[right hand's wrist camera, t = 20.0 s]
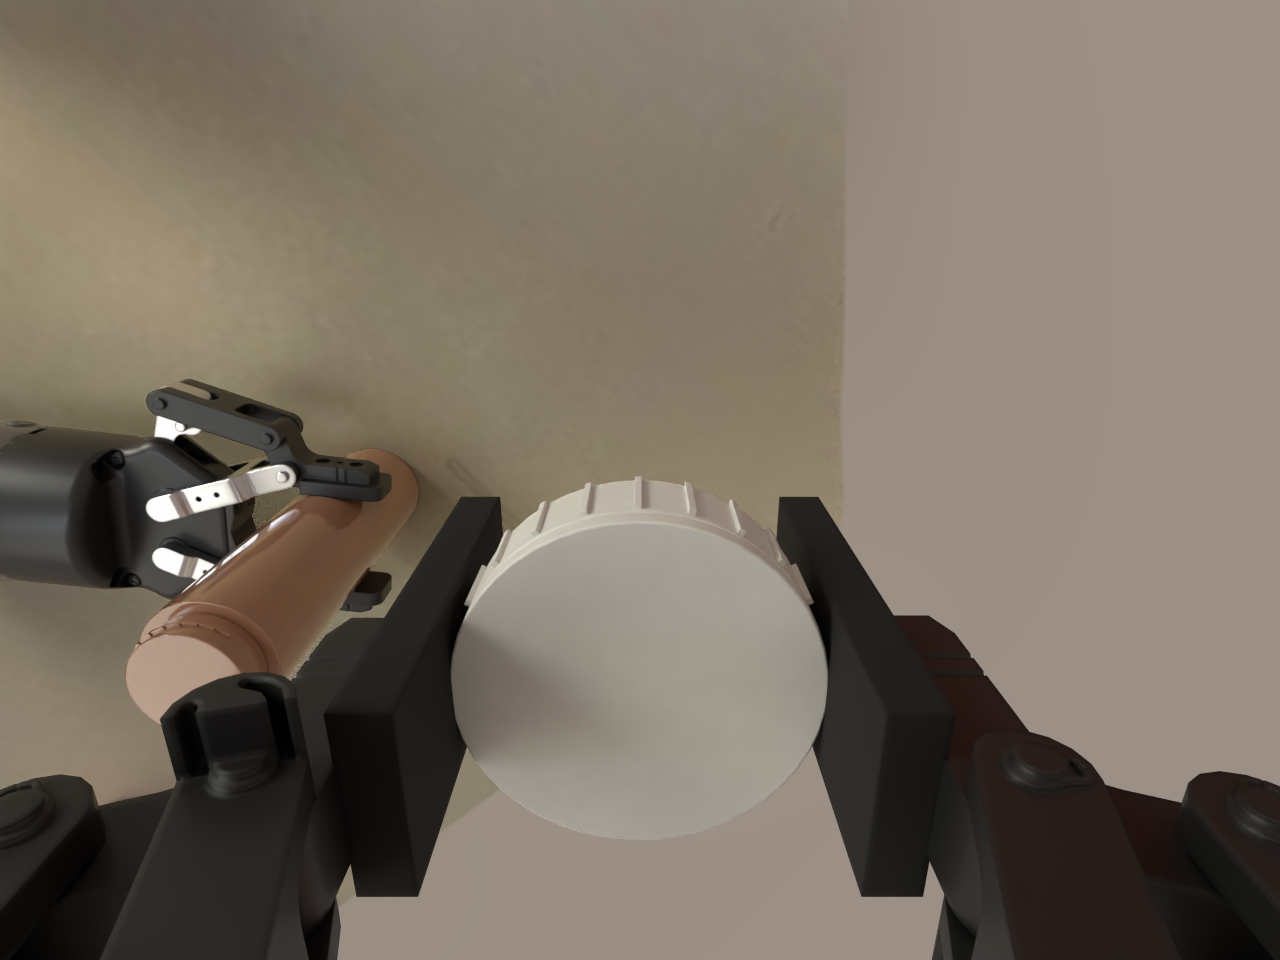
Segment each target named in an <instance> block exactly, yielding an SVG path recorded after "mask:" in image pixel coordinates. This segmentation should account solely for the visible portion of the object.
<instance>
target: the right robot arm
mask: <svg viewBox="0 0 1280 960" xmlns="http://www.w3.org/2000/svg"><path fill="white" fill-rule="evenodd" d="M502 537H503V531H502V517H501V503H500V497H461V498H460V500H459V501H458V503H457V505H456V506H455V508H454V509H453V511H452V512H451V514H450V516H449V517H448V519H447V520H446V522H445V523H444V525H443V527H442V528H441V530H440V531H439V533H438V534H437V536H436V538H435V539H434V541H433V542H432V544H431V545H430V547H429V549H428V550H427V552H426V553H425V555H424V556H423V558H422V560H421V561H420V563H419V564H418V566H417V567H416V569H415V571H414V572H413V574H412V575H411V577H410V578H409V580H408V582H407V583H406V585H405V586H404V588H403V589H402V591H401V593H400V594H399V596H398V597H397V599H396V600H395V602H394V604H393V605H392V607H391V608H390V610H389V611H388V613H387V615H386V616H385V618H351V619H349V620H348V621H346V622H345V623H343V624H342V625H340V626H339V627H337V628H336V629H334V630H333V631H331V632H330V633H328V634H327V635H325V637H324V638H323V639H322V641H321V642H320V643H319V645H318V646H317V647H316V649H315V650H314V651H313V653H312V654H311V655H310V659H309V661H306V662H305V663H304V665H303V666H302V667H301V669H300V670H299V671H298V673H297V676H296V678H293V679H292V680H291V681H290V680H288V679H287V678H286V677H285V676H282V675H278V674H273V673H269V672H251V673H240V674H236V675H232V676H228V677H224V678H220V679H216V680H214V681H212V682H209V683H207V684H205V685H203V686H200V687H198V688H196V689H193V690H192V691H190V692H189V693H187V694H186V695H184V696H183V697H181V698H180V699H178V700H177V701H176V702H174V703H173V704H172V705H171V706H170V707H169V708H168V710H167V711H166V712H165V713H164V714H163V716H162V717H161V718H160V722H161V726H162V729H163V733H164V736H165V740H166V744H167V747H168V751H169V755H170V758H171V762H172V765H173V769H174V773H175V776H176V780H177V783H176V785H175V787H174V788H173V789H169V790H166V791H162V792H159V793H155V794H150V795H146V796H141V797H137V798H132V799H128V800H123V801H119V802H114V803H110V804H105V805H101V806H98V803H97V800H96V796H95V793H94V790H93V787H92V786H91V785H90V784H89V783H88V782H86V781H85V780H84V779H83V778H81V777H76V776H68V775H54V776H47V777H40V778H34V779H31V780H28V781H24V782H20V783H19V784H14V785H12V786H9V787H7V788H4V789H2V790H0V960H337V955H338V947H339V938H340V929H341V925H340V917H339V910H338V905H337V900H336V895H337V892H338V890H339V888H340V886H341V884H342V881H343V879H344V877H345V875H346V872H347V870H348V868H349V866H350V863H351V869H352V874H353V880H354V885H355V891H356V896H357V897H418V895H419V892H420V889H421V886H422V883H423V880H424V877H425V874H426V871H427V868H428V865H429V861H430V858H431V855H432V852H433V849H434V846H435V843H436V840H437V837H438V834H439V831H440V828H441V825H442V822H443V819H444V815H445V812H446V809H447V806H448V803H449V800H450V797H451V794H452V791H453V788H454V785H455V782H456V779H457V776H458V772H459V769H460V766H461V763H462V760H463V757H464V754H465V751H466V748H467V745H466V744H465V742H464V740H463V738H462V735H461V733H460V730H459V727H458V725H457V722H456V719H455V710H454V702H453V693H452V683H451V658H452V653H453V649H454V645H455V641H456V637H457V634H458V632H459V630H460V627H461V625H462V623H463V620H464V618H465V616H466V614H467V611H468V609H469V607H468V606H466V605H464V603H465V601H466V599H467V597H468V595H469V592H470V590H471V588H472V586H473V584H474V581H475V579H476V577H477V575H478V573H479V570H480V568H481V566H482V565H484V566H486V567H487V566H488V564H489V562H490V561H491V559H492V557H493V556H494V554H495V553H496V551H497V549H498V547H499V544H500V542H501V540H502ZM777 542H778V544H779V547H780V549H781V550H782V551H783V553H784V554H785V556H786V557H787V559H788V561H789V563H790V565H793V564H795V563H796V565H797V567H798V569H799V571H800V573H801V575H802V577H803V580H804V582H805V584H806V586H807V589H808V591H809V593H810V595H811V597H812V600H813V602H814V603H813V604H811V605H809V607H810V609H811V611H812V613H813V616H814V618H815V620H816V623H817V625H818V627H819V630H820V633H821V636H822V639H823V643H824V646H825V649H826V655H827V662H828V668H829V674H828V688H827V697H826V706H825V714H824V717H823V720H822V724H821V727H820V730H819V733H818V735H817V737H816V739H815V741H814V743H813V745H812V746H813V749H814V752H815V755H816V758H817V761H818V765H819V768H820V770H821V774H822V777H823V780H824V783H825V786H826V789H827V792H828V795H829V798H830V801H831V805H832V808H833V811H834V814H835V817H836V820H837V823H838V826H839V829H840V832H841V835H842V838H843V841H844V844H845V847H846V851H847V854H848V857H849V860H850V863H851V866H852V869H853V872H854V875H855V878H856V881H857V884H858V887H859V890H860V893H861V896H862V897H923V893H924V888H925V882H926V877H927V871H928V866H929V861H930V863H931V865H932V867H933V870H934V872H935V874H936V876H937V878H938V881H939V883H940V885H941V888H942V890H943V892H944V900H943V905H942V910H941V915H940V920H939V925H938V930H937V936H936V941H935V946H934V951H933V957H932V960H1280V786H1278V785H1275V784H1272V783H1270V782H1267V781H1263V780H1261V779H1258V778H1254V777H1250V776H1248V775H1242V774H1235V773H1228V772H1221V771H1218V772H1211V773H1203V774H1199V775H1198V776H1196V777H1195V778H1194V779H1193V780H1191V781H1190V782H1189V783H1188V785H1187V789H1186V792H1185V795H1184V798H1183V801H1182V803H1180V802H1175V801H1171V800H1166V799H1162V798H1157V797H1153V796H1148V795H1144V794H1139V793H1135V792H1130V791H1126V790H1122V789H1118V788H1115V787H1111V786H1108V785H1105V784H1104V781H1103V780H1102V778H1101V777H1100V775H1099V774H1098V773H1097V771H1096V770H1095V768H1094V767H1093V766H1092V764H1091V763H1089V762H1088V761H1087V760H1086V759H1084V758H1083V757H1082V756H1081V755H1079V754H1078V753H1077V752H1076V751H1074V750H1073V749H1072V748H1069V747H1067V746H1065V745H1063V744H1061V743H1059V742H1057V741H1055V740H1053V739H1051V738H1049V737H1046V736H1042V735H1039V734H1035V733H1031V732H1029V731H1028V729H1027V728H1026V727H1025V726H1024V724H1023V723H1022V722H1021V720H1020V719H1019V718H1018V716H1017V715H1016V714H1015V712H1014V711H1013V710H1012V708H1011V707H1010V706H1009V704H1008V703H1007V702H1006V700H1005V699H1004V698H1003V696H1002V695H1001V694H1000V693H999V691H998V690H997V688H996V687H995V686H994V685H993V683H992V682H991V681H990V679H989V678H988V677H987V676H984V674H983V670H982V669H981V667H980V666H979V665H978V663H977V662H976V661H975V659H974V658H971V657H970V653H969V651H968V650H967V649H966V648H965V646H964V645H963V644H962V642H961V641H960V640H959V638H958V637H957V636H956V634H955V633H954V632H952V631H951V630H949V629H948V628H946V627H945V626H943V625H942V624H940V623H939V622H937V621H936V620H934V619H933V618H931V617H930V616H894V615H893V614H892V612H891V611H890V609H889V607H888V606H887V604H886V603H885V601H884V600H883V598H882V596H881V595H880V593H879V592H878V590H877V589H876V587H875V585H874V584H873V582H872V581H871V579H870V578H869V576H868V574H867V573H866V571H865V570H864V568H863V567H862V565H861V563H860V562H859V560H858V559H857V557H856V556H855V554H854V553H853V551H852V549H851V548H850V546H849V545H848V543H847V541H846V540H845V538H844V537H843V535H842V534H841V532H840V530H839V529H838V527H837V526H836V524H835V523H834V521H833V519H832V518H831V516H830V515H829V513H828V512H827V510H826V508H825V507H824V505H823V504H822V502H821V501H820V499H819V497H779V511H778V525H777Z"/></svg>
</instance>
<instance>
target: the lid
mask: <svg viewBox="0 0 1280 960" xmlns="http://www.w3.org/2000/svg"><path fill="white" fill-rule="evenodd" d="M813 603H814V602H813V600H812V597H811V595H810V593H809V591H808V589H807V586H806V584H805V582H804V580H803V577H802V575H801V573H800V571H799V569H798V567H797V565H796V563H795V564H793V565H790V563H789V561H788V559H787V557H786V556H785V554H784V553H783V551H782V550H781V549H780V547H779V544H778V542H777V539H776V537H775V535H774V532H773V531H772V530H771V529H770V528H768V529H767V530H766V531H765V530H764V529H763V528H762V526H760V525H759V524H758V523H757V522H756V521H754V520H753V519H752V518H751V517H749V516H748V515H747V514H746V513H744V512H743V511H741V510H740V509H739V508H738V505H737V502H735V501H733V500H730V502H729V503H728V502H726V501H725V500H722V499H720V498H718V497H715V496H713V495H711V494H709V493H706V492H704V491H701V490H697V489H694V488H692V483H689V482H685V484H684V485H679V484H673V483H667V482H661V481H643V480H642V476H635V480H631V481H619V482H610V483H605V484H600V485H596V486H593V485H592V483H591V482H590V483H586V484H585V487H584V489H581V490H579V491H576V492H573V493H570V494H567V495H565V496H563V497H561V498H559V499H557V500H555V501H553V502H551V503H549V504H548V503H547V501H544V502H542V503H540V506H539V509H538V511H536V512H535V513H533V514H532V515H531V516H529V517H528V518H527V519H526V520H524V521H523V522H522V523H521V524H520V525H519V526H518V527H517V528H515V529H514V530H513V531H512V532H511V531H510V530H509V529H508V530H507V531H506V532H505V533H504V535H503V537H502V540H501V542H500V544H499V547H498V549H497V551H496V553H495V554H494V556H493V557H492V559H491V561H490V562H489V564H488V566H487V567H486V566H484V565H482V566H481V568H480V570H479V573H478V575H477V577H476V579H475V581H474V584H473V586H472V588H471V590H470V592H469V595H468V597H467V599H466V601H465V603H464V605H466V606H468V607H469V609H468V611H467V614H466V616H465V618H464V620H463V623H462V625H461V627H460V630H459V632H458V634H457V637H456V641H455V645H454V649H453V653H452V658H451V683H452V693H453V702H454V710H455V719H456V722H457V725H458V727H459V730H460V733H461V735H462V738H463V740H464V742H465V744H466V745H467V747H468V749H469V751H470V753H471V754H472V756H473V758H474V759H475V760H476V762H477V763H478V764H479V766H480V767H481V769H482V770H483V771H484V773H485V774H486V775H487V776H488V777H489V778H490V779H491V780H492V781H493V782H494V783H495V784H496V785H497V786H498V787H499V788H500V789H501V790H502V791H503V792H504V793H506V794H507V795H508V796H509V797H511V798H512V799H513V800H514V801H516V802H517V803H519V804H520V805H522V806H523V807H525V808H526V809H528V810H530V811H531V812H533V813H534V814H536V815H538V816H540V817H542V818H544V819H547V820H549V821H551V822H553V823H555V824H557V825H560V826H563V827H566V828H569V829H572V830H574V831H578V832H582V833H586V834H590V835H594V836H598V837H606V838H613V839H620V840H654V839H667V838H673V837H679V836H685V835H690V834H693V833H697V832H700V831H704V830H708V829H711V828H713V827H716V826H718V825H721V824H723V823H726V822H728V821H731V820H733V819H735V818H737V817H738V816H740V815H742V814H744V813H746V812H748V811H750V810H751V809H753V808H754V807H756V806H757V805H759V804H760V803H761V802H763V801H764V800H766V799H767V798H769V797H770V796H771V795H772V794H773V793H774V792H775V791H776V790H778V789H779V788H780V787H781V786H782V785H783V784H784V783H785V782H786V781H787V780H788V779H789V778H790V777H791V775H792V774H793V773H794V772H795V771H796V770H797V769H798V767H799V766H800V764H801V763H802V761H803V760H804V758H805V757H806V756H807V754H808V753H809V751H810V749H811V747H812V745H813V743H814V741H815V739H816V737H817V735H818V733H819V730H820V727H821V724H822V720H823V717H824V714H825V706H826V697H827V688H828V674H829V668H828V662H827V655H826V649H825V646H824V643H823V639H822V636H821V633H820V630H819V627H818V625H817V623H816V620H815V618H814V616H813V613H812V611H811V609H810V607H809V605H811V604H813Z"/></svg>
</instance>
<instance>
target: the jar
mask: <svg viewBox="0 0 1280 960" xmlns="http://www.w3.org/2000/svg"><path fill="white" fill-rule="evenodd" d="M344 458H348V459H356V460H358V459H359V460H368V461H371V462H373V463H375V464H377V465H379V466H380V472H383V473H389V474H391V475H392V490H391V491H390V492H389V493H388V494H387V495H386V496H385V498H384V499H383V500H381V501H377V502H366V501H357V500H347V499H338V498H328V497H321V496H310V495H298V496H297V497H296V498H295V499H294V500H292V501H291V502H290V503H289V504H288V505H286V506H285V507H284V508H283V509H281V510H280V511H279V512H278V513H277V514H275V515H274V516H273V517H272V518H271V519H269V520H268V521H267V522H266V523H265V524H263V525H262V526H261V527H260V528H259V529H257V530H256V531H255V532H254V533H252V534H251V535H250V536H249V537H248V538H246V539H245V540H244V541H243V542H242V543H240V544H239V545H238V546H237V547H236V548H234V549H233V550H232V551H231V552H230V553H228V554H227V555H226V556H225V557H223V558H222V559H221V560H220V561H219V562H217V563H216V564H215V565H214V566H213V567H211V568H210V569H209V570H208V571H207V572H205V573H204V574H203V575H202V576H201V577H199V578H198V579H197V580H196V581H195V582H193V583H192V584H191V585H190V586H188V587H187V588H186V589H185V590H184V591H182V592H181V593H180V594H179V595H178V596H176V597H175V598H174V599H173V600H172V601H170V602H169V603H168V604H167V605H166V606H164V607H163V608H162V609H161V610H159V611H158V612H157V613H156V614H155V615H153V617H152V618H151V619H150V620H149V621H148V622H147V624H146V625H145V627H144V629H143V632H142V634H141V638H140V641H139V642H138V643H137V644H136V646H135V648H134V650H133V653H132V654H131V656H130V657H129V660H128V662H127V666H126V672H125V678H126V684H127V688H128V691H129V693H130V696H131V697H132V699H133V701H134V702H135V704H136V705H137V706H138V708H139V709H140V710H141V711H142V712H143V713H144V714H145V715H146V716H148V717H149V718H150V719H151V720H153V721H154V722H156V723H157V724H159V725H161V722H160V718H161V717H162V716H163V714H164V713H165V712H166V711H167V710H168V708H169V707H170V706H171V705H172V704H173V703H174V702H176V701H177V700H178V699H180V698H181V697H183V696H184V695H186V694H187V693H189V692H190V691H192V690H193V689H196V688H198V687H200V686H203V685H205V684H207V683H209V682H212V681H214V680H216V679H220V678H224V677H228V676H232V675H236V674H240V673H251V672H269V673H273V674H278V675H282V676H285V677H286V678H287V679H288V678H289V676H290V675H291V674H292V672H293V671H294V670H295V668H296V667H297V666H298V664H299V663H300V662H301V660H302V659H303V658H304V656H305V655H306V654H307V652H308V651H309V650H310V648H311V647H312V646H313V644H314V643H315V642H316V640H317V639H318V638H319V636H320V635H321V634H322V632H323V631H324V630H325V628H326V627H327V626H328V624H329V623H330V622H331V620H332V619H333V618H334V617H335V615H336V614H337V613H338V611H339V610H340V609H341V607H342V606H343V605H344V603H345V602H346V601H347V599H348V598H349V597H350V595H351V594H352V593H353V591H354V590H355V589H356V587H357V586H358V585H359V583H360V582H361V581H362V579H363V578H364V577H365V575H366V574H367V573H368V571H369V570H370V569H371V567H372V566H373V565H374V563H375V562H376V561H377V560H378V558H379V557H380V556H381V554H382V553H383V552H384V550H385V549H386V548H387V546H388V545H389V544H390V542H391V541H392V540H393V538H394V537H395V536H396V534H397V533H398V532H399V530H400V529H401V528H402V526H403V525H404V524H405V522H406V521H407V520H408V518H409V517H410V516H411V514H412V513H413V512H414V510H415V508H416V505H417V502H418V495H419V491H418V485H417V481H416V479H415V476H414V474H413V472H412V471H411V470H410V468H409V467H408V466H407V465H406V464H405V463H404V462H403V461H402V460H401V459H400V458H398V457H397V456H395V455H393V454H391V453H389V452H386V451H383V450H379V449H361V450H357V451H355V452H352V453H350V454H348V455H347V456H346V457H344Z"/></svg>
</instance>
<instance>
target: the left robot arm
mask: <svg viewBox="0 0 1280 960" xmlns="http://www.w3.org/2000/svg"><path fill="white" fill-rule="evenodd" d="M146 403H147V406H148V408H149V410H150V411H151V412H152V413H154V414H155V415H157V418H156V425H155V433H154V436H151V437H147V438H140V437H137V436H130V435H121V434H112V433H103V432H94V431H85V430H75V429H66V428H57V427H48V426H41V425H39V424H37V423H32V422H18V421H15V422H0V578H2V579H12V580H22V581H32V582H42V583H51V584H61V585H71V586H81V587H91V588H101V589H116V588H129V587H142V588H146V589H149V590H151V591H153V592H155V593H157V594H159V595H161V596H163V597H165V598H168V599H174V598H175V597H176V596H178V595H179V594H180V593H181V592H182V591H184V590H185V589H186V588H187V587H188V586H190V585H191V584H192V583H193V582H195V581H196V580H197V579H198V578H199V577H201V576H202V575H203V574H204V573H205V572H207V571H208V570H209V569H210V568H211V567H213V566H214V565H215V564H216V563H217V562H219V561H220V560H221V559H222V558H223V557H225V556H226V555H227V554H228V553H230V552H231V551H232V550H233V549H234V548H236V547H237V546H238V545H239V544H240V543H242V542H243V541H244V540H245V539H246V538H248V537H249V536H250V535H251V534H252V533H254V532H255V531H256V530H257V529H256V527H255V524H254V521H253V518H252V513H253V509H254V505H255V496H259V495H263V494H267V493H272V492H276V491H280V490H284V489H288V488H291V487H300V495H310V496H321V497H328V498H338V499H347V500H357V501H366V502H377V501H381V500H383V499H384V498H385V496H386V495H387V494H388V493H389V492H390V491H391V490H392V475H391V474H389V473H383V472H380V466H379V465H377V464H375V463H373V462H371V461H368V460H359V459H358V460H356V459H348V458H341V457H332V456H322V455H317V454H315V453H313V452H311V451H310V450H309V449H308V448H307V446H306V445H305V442H304V440H303V438H302V435H301V432H302V430H303V422H302V420H301V419H300V417H299V416H297V415H296V414H294V413H291V412H288V411H285V410H282V409H279V408H276V407H273V406H270V405H267V404H264V403H261V402H258V401H255V400H252V399H249V398H246V397H243V396H240V395H237V394H234V393H231V392H228V391H225V390H222V389H219V388H216V387H213V386H210V385H207V384H204V383H201V382H198V381H195V380H192V379H186V380H183V381H180V382H176V383H173V384H170V385H167V386H165V387H162V388H160V389H158V390H155V391H153V392H151V393H149V394H148V396H147V399H146ZM202 431H206V432H209V433H212V434H215V435H218V436H221V437H224V438H227V439H230V440H233V441H236V442H239V443H242V444H245V445H249V446H252V447H255V448H258V449H261V450H264V451H265V453H266V456H261V457H257V458H253V459H249V460H245V461H241V462H236V463H232V464H228V465H226V464H224V463H223V462H222V461H220V460H219V459H217V458H216V457H215V456H213V455H212V454H211V453H209V452H208V451H207V450H205V449H204V448H202V447H201V446H200V445H198V444H197V443H196V442H194V441H193V440H192V439H190V438H189V437H187V436H186V434H187V435H196V434H198V433H200V432H202ZM390 590H391V575H390V574H388V573H383V572H373V571H368V573H367V574H366V575H365V577H364V578H363V579H362V581H361V582H360V583H359V585H358V586H357V587H356V589H355V590H354V591H353V593H352V594H351V595H350V597H349V598H348V599H347V601H346V602H345V603H344V605H343V606H342V607H341V609H340V610H343V611H353V612H364V611H368V610H371V609H372V607H373V606H374V605H378V604H381V603H382V602H383V601H384V600H385V598H386V597H387V595H388V593H389V592H390Z"/></svg>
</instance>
